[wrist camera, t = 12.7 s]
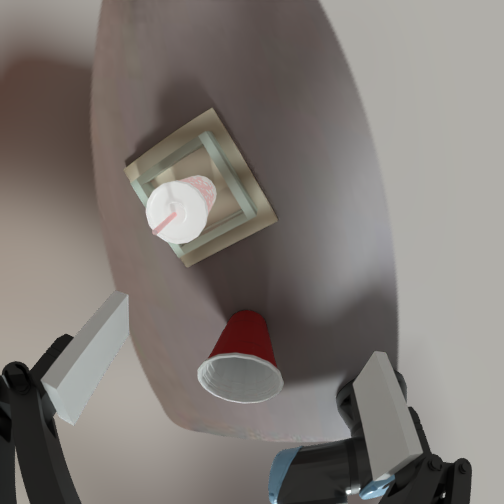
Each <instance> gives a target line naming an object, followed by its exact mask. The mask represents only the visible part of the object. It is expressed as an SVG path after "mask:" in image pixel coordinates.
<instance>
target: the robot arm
mask: <svg viewBox="0 0 504 504" xmlns="http://www.w3.org/2000/svg"><path fill="white" fill-rule="evenodd" d="M128 336H129V315H128V294H125V293H122V292H119V291H116V290H115V291H114V292H113V293H112V294H111V296H110V297H109V298H108V299H107V300H106V301H105V302H104V304H103V305H102V306H101V307H100V308H99V309H98V310H97V311H96V313H95V314H94V315H93V316H92V317H91V318H90V319H89V321H88V322H87V323H86V324H85V325H84V326H83V328H82V329H81V330H80V331H79V332H78V334H77V335H76V336H75V337H72V336H70V335H68V334H64V335H63V336H61V337H59V338H57V339H56V340H55V341H54V343H53V344H52V345H51V347H49V348H48V350H47V351H46V353H44V354H43V356H42V357H41V358H40V359H39V361H38V362H37V363H36V364H35V365H34V367H33V368H32V369H31V370H30V371H29V368H28V367H27V366H26V365H25V364H24V363H22V362H17V361H15V362H11V363H9V364H7V365H6V366H5V367H4V369H3V371H2V376H1V375H0V504H17V501H16V490H15V447H16V452H17V457H18V461H19V466H20V470H21V474H22V478H23V482H24V485H25V489H26V492H27V495H28V498H29V501H30V504H81V501H80V499H79V497H78V494H77V492H76V489H75V487H74V484H73V482H72V479H71V476H70V473H69V470H68V468H67V465H66V461H65V458H64V455H63V452H62V448H61V445H60V441H59V437H58V433H57V429H56V425H55V421H54V418H53V416H54V414H55V413H56V412H57V414H58V415H59V417H60V418H61V419H63V420H64V421H66V422H68V423H70V424H72V425H75V423H76V422H77V420H78V418H79V416H80V414H81V413H82V411H83V409H84V407H85V406H86V404H87V402H88V400H89V398H90V397H91V395H92V394H93V392H94V390H95V388H96V387H97V385H98V383H99V382H100V380H101V378H102V377H103V375H104V373H105V372H106V370H107V369H108V367H109V366H110V364H111V362H112V361H113V359H114V357H115V356H116V354H117V353H118V351H119V350H120V348H121V346H122V345H123V343H124V342H125V340H126V339H127V337H128ZM336 402H337V408H338V412H339V414H340V415H341V417H342V418H343V420H344V421H345V423H346V425H347V426H348V428H349V429H350V432H351V437H352V438H349V439H345V440H340V441H335V442H329V443H324V444H318V445H311V446H300V447H297V448H291V449H285V450H282V451H280V452H279V453H278V454H277V455H276V457H275V459H274V461H273V463H272V466H271V471H270V476H269V484H268V490H269V500H270V502H271V503H272V504H348V502H347V496H348V495H352V494H357V493H359V496H360V497H361V498H362V499H369V498H375V497H378V496H381V495H383V497H382V499H381V500H380V502H379V504H469V503H470V492H471V477H472V468H471V464H470V462H469V461H468V460H467V459H465V458H460V459H458V460H457V461H455V462H454V463H446V462H443V461H442V459H441V458H440V457H439V456H438V455H435V454H432V453H431V451H430V448H429V445H428V442H427V439H426V436H425V433H424V430H422V429H423V428H422V425H421V424H420V419H419V417H418V414H417V413H416V411H415V410H414V409H413V408H412V407H407V386H406V383H405V380H404V378H403V376H402V374H400V373H399V372H397V371H394V370H393V368H392V366H391V364H390V361H389V359H388V356H387V354H386V352H379V351H374V353H373V354H372V356H371V357H370V359H369V360H368V362H367V363H366V365H365V366H364V368H363V369H362V371H361V372H360V374H359V375H358V377H357V378H356V379H354V380H352V381H351V382H349V383H348V384H347V385H346V386H344V387H343V388H342V390H341V391H340V392H339V394H338V396H337V399H336ZM445 492H446V494H445V497H444V498H443V497H442V496H443V493H445Z"/></svg>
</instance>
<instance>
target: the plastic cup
mask: <svg viewBox="0 0 504 504" xmlns="http://www.w3.org/2000/svg"><path fill="white" fill-rule="evenodd" d="M198 380H199V382H200V383H201V384H202V386H203V387H204V389H206V390H207V391H209V392H210V393H212V394H213V395H214V396H217V397H219V398H222V399H225V400H227V401H232V402H238V403H259V402H262V401H265V400H269V399H272V398H273V397H274V396H276V395H277V394H278V393H280V392H281V389H282V387H283V384H284V382H283V379H282V376H281V373H280V371H279V370H278V368H277V365H276V362H275V358H274V354H273V349H272V345H271V340H270V336H269V333H268V329H267V325H266V322H265V320H264V318H263V317H262V316H261V315H260V314H258V313H256V312H254V311H249V310H244V311H239V312H237V313H235V314H234V315H233V316H232V317H231V318H230V320H229V321H228V323H227V325H226V327H225V329H224V330H223V332H222V334H221V336H220V337H219V339H218V341H217V343H216V345H215V347H214V349H213V351H212V353H211V354H210V356H209V357H208V359H206V360H205V361H204V362H203V364H202V365H201V366H200V367H199V369H198Z"/></svg>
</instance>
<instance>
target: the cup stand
mask: <svg viewBox="0 0 504 504" xmlns="http://www.w3.org/2000/svg"><path fill="white" fill-rule="evenodd" d="M124 172H125V173H126V175H127V177H128V178H129V180H130V182H131V183H130V184H131V185H132V187H133V189H134V190H135V192H136V193H137V195H138V197H139V198H140V200H141V202H142V203H143V205H144V206H145V208H146V207H147V201H148V199H149V197H150V195H151V193H152V192H153V191H154V190H155V189H156V188H158V187H159V186H160V185H162V184H163V183H167V182H171V181H176V180H178V181H179V180H182V179H185V178H188V177H191V176H196V175H200V176H205V177H207V178H208V179H209V180H211V181H212V183H213V184H214V186H215V188H216V193H217V195H216V199H215V202H214V204H213V206H212V208H211V210H210V212H209V214H208V217H207V222H206V225H205V227H204V229H203V230H202V231H201V233H200V234H199V236H198V237H197V238H195V239H193V240H192V241H190V242H188V243H182V244H174V243H170V242H168V243H169V245H170V246H171V248H172V249H173V250H174V252H175V253H176V255H177V256H178V258H179V257H180V259H181V260H182V262H183V263H184V265H185V266H186V267H189V266H191V265H193V264H195V263H197V262H199V261H201V260H203V259H205V258H207V257H209V256H210V255H212V254H214V253H216V252H218V251H220V250H222V249H224V248H226V247H228V246H230V245H232V244H234V243H236V242H238V241H240V240H242V239H244V238H246V237H247V236H249V235H251V234H253V233H255V232H257V231H259V230H261V229H263V228H265V227H267V226H269V225H271V224H273V223H275V222H277V221H278V218H277V216H276V214H275V212H274V211H273V209H272V207H271V205H270V203H269V202H268V200H267V198H266V196H265V195H264V193H263V191H262V189H261V187H260V186H259V184H258V182H257V180H256V179H255V177H254V175H253V174H252V172H251V170H250V168H249V167H248V165H247V163H246V162H245V160H244V158H243V156H242V155H241V153H240V151H239V150H238V148H237V146H236V145H235V143H234V141H233V140H232V138H231V136H230V135H229V133H228V131H227V130H226V128H225V126H224V125H223V123H222V121H221V120H220V118H219V116H218V115H217V113H216V112H215V110H214V108H211V109H209V110H207V111H206V112H204V113H202V114H201V115H199V116H198V117H196V118H195V119H193V120H191V121H190V122H188V123H187V124H185V125H184V126H182V127H181V128H179V129H178V130H176V131H175V132H173V133H172V134H170V135H169V136H168V137H166V138H165V139H163V140H162V141H160V142H159V143H158V144H156V145H155V146H154V147H152V148H151V149H150V150H148V151H147V152H146V153H144V154H143V155H142V156H140V157H139V158H138V159H136V160H135V161H134V162H133V163H131V164H130V165H129V166H127V167H126V168H125V169H124Z"/></svg>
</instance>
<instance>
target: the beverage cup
mask: <svg viewBox="0 0 504 504" xmlns="http://www.w3.org/2000/svg"><path fill="white" fill-rule="evenodd" d="M216 195H217V193H216V188H215V186H214V184H213V183H212V181H211V180H209V179H208V178H207V177H205V176H200V175H196V176H191V177H188V178H185V179H182V180H179V181H178V180H176V181H171V182H167V183H163V184H162V185H160V186H159V187H158V188H156V189H155V190H154V191H153V192H152V193H151V195H150V197H149V199H148V201H147V207H146V216H147V219H148V223H149V225H150V227H151V228H152V230H153V231H152V233H153V234H154V235H157V236H159V237H160V238H162V239H163V240H164V241H166V242H170V243H174V244H182V243H188V242H190V241H192V240H193V239H195V238H197V237H198V236H199V234H200V233H201V231H202V230H203V229H204V227H205V225H206V222H207V217H208V214H209V212H210V210H211V208H212V206H213V204H214V202H215V199H216Z"/></svg>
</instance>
